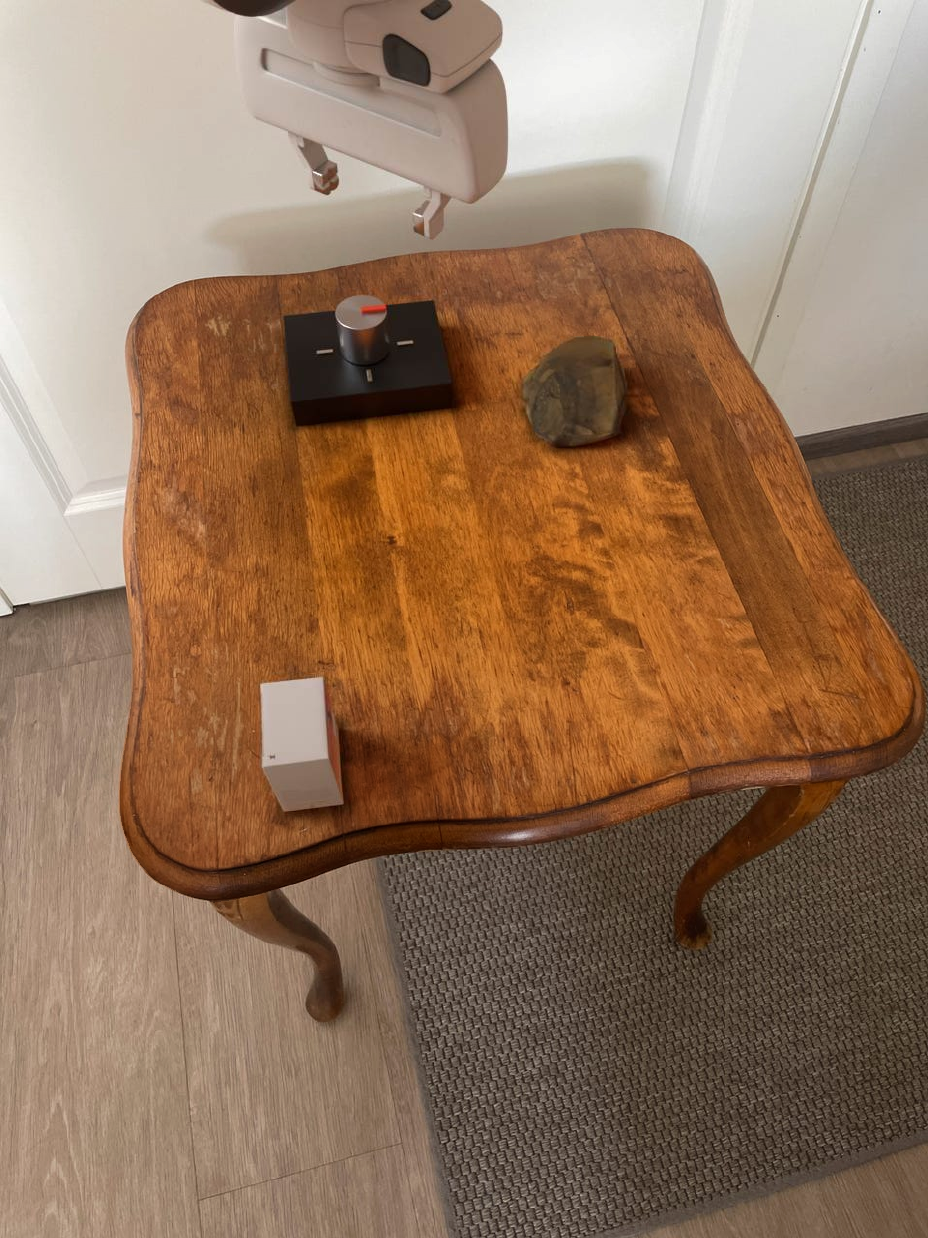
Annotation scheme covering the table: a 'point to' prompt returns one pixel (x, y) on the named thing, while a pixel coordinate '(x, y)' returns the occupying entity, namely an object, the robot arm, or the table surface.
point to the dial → (363, 329)
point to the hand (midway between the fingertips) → (375, 209)
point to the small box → (300, 744)
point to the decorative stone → (577, 393)
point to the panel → (367, 368)
